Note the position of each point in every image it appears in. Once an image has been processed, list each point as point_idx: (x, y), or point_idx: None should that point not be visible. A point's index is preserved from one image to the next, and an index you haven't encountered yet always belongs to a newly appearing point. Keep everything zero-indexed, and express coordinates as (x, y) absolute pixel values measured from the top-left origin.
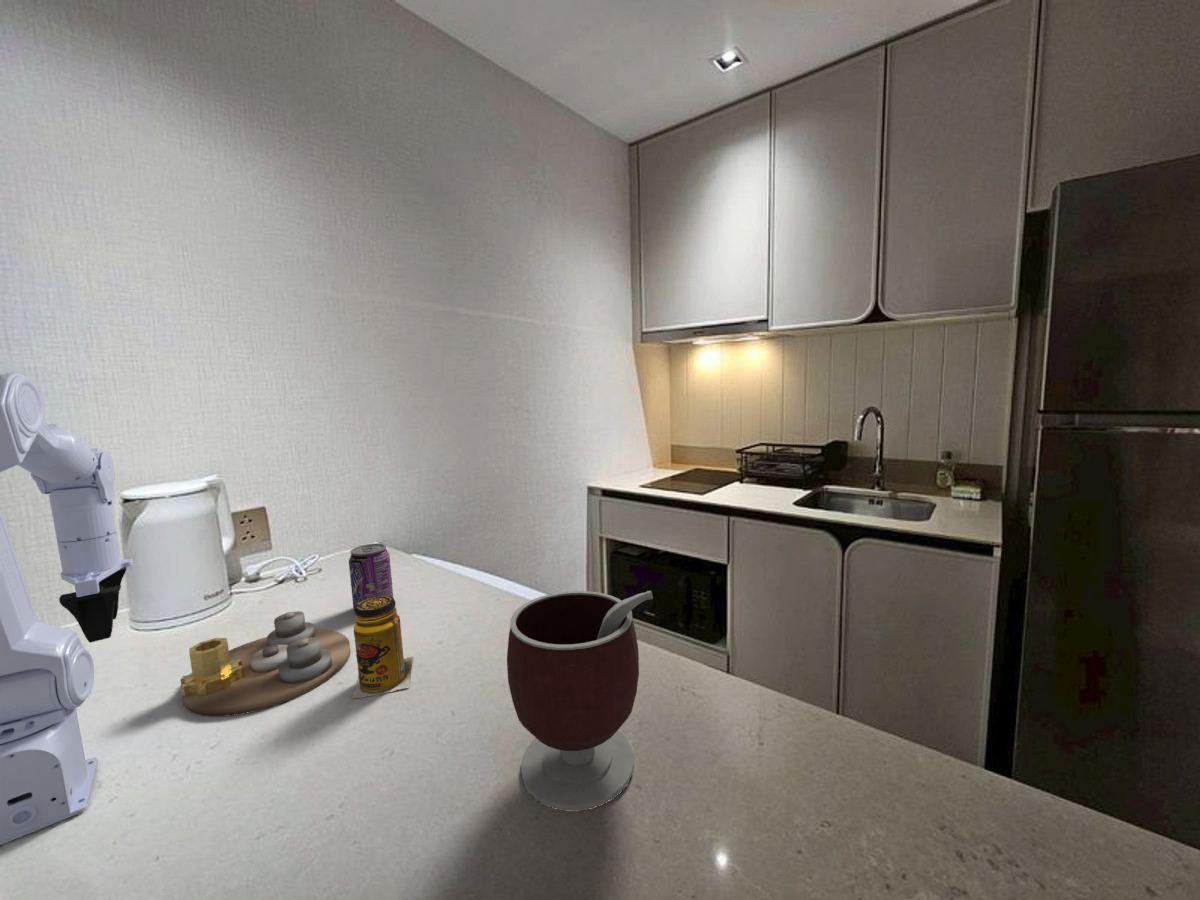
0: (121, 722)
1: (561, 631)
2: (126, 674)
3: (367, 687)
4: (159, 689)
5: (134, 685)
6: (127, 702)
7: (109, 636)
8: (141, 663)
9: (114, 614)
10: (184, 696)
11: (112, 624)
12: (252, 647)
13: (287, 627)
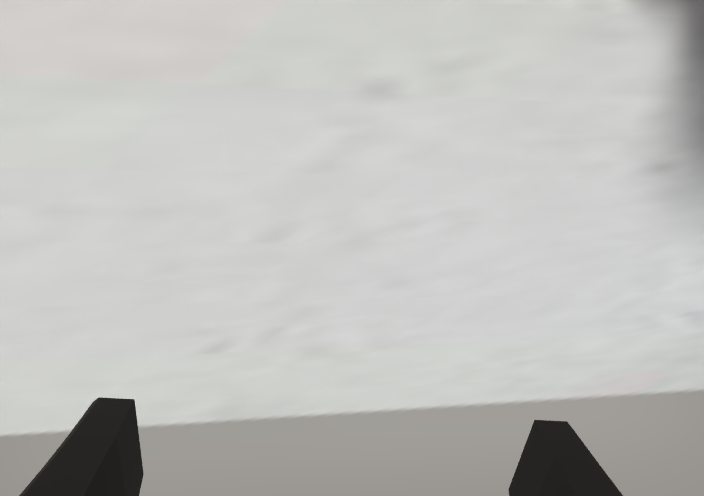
0: (678, 177)
1: None
2: (165, 149)
3: None
4: (500, 40)
5: (339, 127)
6: (506, 156)
7: (570, 431)
8: (61, 89)
9: (124, 434)
10: None
11: (600, 488)
12: None
13: None
